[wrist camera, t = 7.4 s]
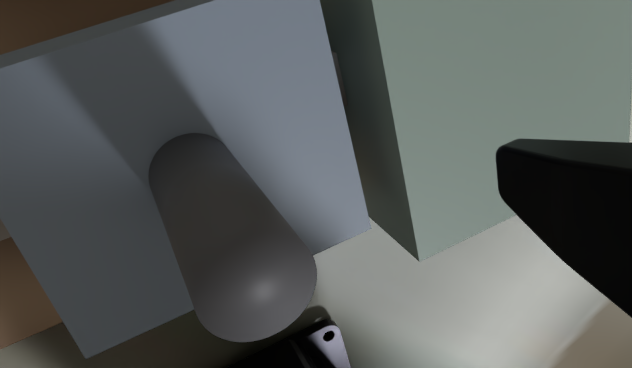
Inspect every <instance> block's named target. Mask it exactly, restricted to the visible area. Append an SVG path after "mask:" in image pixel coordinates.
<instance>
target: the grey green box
mask: <svg viewBox="0 0 632 368" xmlns="http://www.w3.org/2000/svg"><path fill="white" fill-rule="evenodd" d="M320 4H321V8H322V13H323V17H324V22H325V26H326V31H327V35H328V39H329V44H330V48H331V51H332V52H335V53H337V58H338V62H339V67H340V71H341V76H342V80H343V85H344V89H345V94H346V98H347V103H348V105H347V106H344V110H345V115H346V119H347V123H348V128H349V132H350V137H351V141H352V146H353V150H354V154H355V159H356V163H357V168H358V172H359V176H360V181H361V185H362V190H363V194H364V199H365V203H366V207H367V212H368V216H369V217H370V218H371V219H372V220H373V221H374V222H375V223H377V224H378V225H379V226H380V227H381V228H382V229H383V230H384V231H386V232H387V233H388V234H389V235H390V236H391V237H392V238H393V239H395V240H396V241H397V242H398V243H399V244H400V245H401V246H402V247H403V248H405V249H406V250H407V251H408V252H409V253H410V254H411V255H412V256H414V257H415V258H416V259H417V260H418V261H419V262H420V261H422V260H424V259H426V258H429V257H431V256H433V255H435V254H437V253H439V252H441V251H443V250H445V249H447V248H449V247H451V246H453V245H455V244H457V243H459V242H461V241H464V240H466V239H468V238H470V237H472V236H474V235H476V234H478V233H480V232H482V231H484V230H486V229H488V228H490V227H492V226H494V225H496V224H498V223H501V222H503V221H505V220H507V219H509V218H511V217H513V216H515V215H516V214H515V213H514V212H513V211H512V210H511V209H510V208H509V206H508V205H507V204H506V203H505V202H504V201H503V199H502V198H501V196H500V194H499V190H498V182H497V170H496V151H497V149H498V148H499V147H500V146H502V145H504V144H506V143H509V142H511V141H513V140H515V139H521V138H523V139H549V140H576V141H602V142H629V136H630V111H631V86H632V0H320Z"/></svg>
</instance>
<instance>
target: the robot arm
mask: <svg viewBox="0 0 632 368" xmlns="http://www.w3.org/2000/svg"><path fill="white" fill-rule="evenodd" d="M496 170H497V182H498V190H499V194H500V196H501V198H502V199H503V201H504V202H505V203H506V204H507V205H508V206H509V208H510V209H511V210H512V211H513V212H514V213H515V214H516V215H517V216H518V217H519V218H520V219H521V220H522V221H523V222H524V223H525V224H526V225H527V226H528V227H529V228H530V229H531V230H532V231H533V232H534V233H535V234H536V235H537V236H538V237H539V238H540V239H541V240H542V241H543V242H544V243H545V244H546V245H547V246H548V247H549V248H550V249H551V250H552V251H553V252H554V253H555V254H556V255H557V256H558V257H559V258H560V259H562V260H563V261H564V262H565V263H566V264H567V265H568V266H570V267H571V268H572V269H573V270H574V271H575V272H577V273H578V274H579V275H580V276H582V277H583V278H584V279H585V280H586V281H588V282H589V283H590V284H591V285H592V286H594V287H595V288H596V289H597V290H599V291H600V292H601V293H602V294H603V295H605V296H606V297H607V298H608V299H610V300H611V301H612V302H613V303H615V304H616V305H617V306H618V307H619V308H621V309H622V310H623V311H624V312H625V313H627V314H628V315H629V316H630V317H631V318H632V143H629V142H602V141H576V140H549V139H523V138H521V139H515V140H513V141H511V142H509V143H506V144H504V145H502V146H500V147H499V148H498V149H497V151H496ZM327 331H330V332H329V333H328V334H327V335H324V334H325V333H326V332H327ZM323 335H324V336H323ZM227 368H351V366H350V363H349V359H348V356H347V353H346V349H345V346H344V342H343V339H342V335H341V332H340V330H339V328H338V326H337V325H336V324H335V322H334V321H332V320H323V321H321V322H319V323H317V324H315V325H313V326H311V327H309V328H307V329H304V330H302V331H300V332H298V333H296V334H294V335H292V336H290V337H288V338H286V339H284V340H282V341H280V342H278V343H276V344H274V345H272V346H270V347H268V348H266V349H264V350H262V351H260V352H258V353H256V354H254V355H252V356H250V357H248V358H246V359H243V360H241V361H239V362H237V363H235V364H233V365H231V366H229V367H227Z"/></svg>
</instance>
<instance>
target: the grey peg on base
mask: <svg viewBox="0 0 632 368" xmlns="http://www.w3.org/2000/svg"><path fill="white" fill-rule="evenodd" d="M0 219H1V220H2V222H3V224H4V225H5V227H6V229H7V230H8V232H9V234H10V235H11V237H12V239H13V240H14V242H15V244H16V245H17V247H18V248H19V250H20V252H21V253H22V255H23V257H24V258H25V260H26V262H27V263H28V265H29V267H30V268H31V270H32V271H33V273H34V275H35V276H36V278H37V280H38V281H39V283H40V285H41V286H42V288H43V290H44V291H45V293H46V295H47V296H48V298H49V299H50V301H51V303H52V304H53V306H54V308H55V309H56V311H57V313H58V314H59V316H60V318H61V319H62V321H63V323H64V324H65V326H66V327H67V329H68V331H69V332H70V334H71V336H72V337H73V339H74V341H75V342H76V344H77V346H78V347H79V349H80V350H81V352H82V354H83V355H84V357H85V359H87V358H90V357H92V356H94V355H96V354H98V353H101V352H103V351H105V350H107V349H109V348H112V347H114V346H116V345H118V344H120V343H122V342H125V341H127V340H129V339H131V338H133V337H136V336H138V335H140V334H142V333H144V332H146V331H149V330H151V329H153V328H155V327H157V326H160V325H162V324H164V323H166V322H168V321H171V320H173V319H175V318H177V317H179V316H181V315H184V314H186V313H188V312H190V311H192V310H195V312H196V315H197V317H198V319H199V321H200V322H201V324H202V325H203V326H204V327H205V328H206V329H207V330H208V331H209V332H210V333H212V334H213V335H215V336H217V337H219V338H221V339H224V340H228V341H233V342H252V341H257V340H261V339H264V338H267V337H270V336H272V335H274V334H276V333H278V332H280V331H282V330H283V329H285V328H286V327H288V326H289V325H290V324H291V323H293V322H294V321H295V320H296V319H297V318H298V317H299V316H300V315H301V313H302V312H303V311H304V310H305V308H306V307H307V305H308V303H309V302H310V300H311V298H312V295H313V293H314V290H315V286H316V280H317V269H316V264H315V260H314V257H313V255H315V254H317V253H319V252H321V251H323V250H326V249H328V248H330V247H332V246H334V245H337V244H339V243H341V242H343V241H345V240H347V239H350V238H352V237H354V236H356V235H358V234H361V233H363V232H365V231H367V230H369V229H371V225H370V221H369V216H368V212H367V207H366V203H365V199H364V194H363V190H362V185H361V181H360V176H359V172H358V168H357V163H356V159H355V154H354V150H353V146H352V141H351V137H350V132H349V128H348V123H347V119H346V115H345V110H344V106H343V101H342V97H341V92H340V88H339V84H338V79H337V75H336V70H335V66H334V62H333V57H332V53H331V48H330V44H329V39H328V35H327V31H326V26H325V22H324V17H323V13H322V8H321V4H320V0H174V1H171V2H168V3H165V4H162V5H158V6H155V7H152V8H149V9H146V10H142V11H139V12H136V13H133V14H130V15H126V16H123V17H120V18H117V19H114V20H110V21H107V22H104V23H101V24H98V25H94V26H91V27H88V28H85V29H82V30H78V31H75V32H72V33H69V34H66V35H62V36H59V37H56V38H53V39H50V40H46V41H43V42H40V43H37V44H34V45H30V46H27V47H24V48H21V49H18V50H14V51H11V52H8V53H5V54H2V55H0Z"/></svg>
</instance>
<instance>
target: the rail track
mask: <svg viewBox="0 0 632 368" xmlns="http://www.w3.org/2000/svg"><path fill="white" fill-rule="evenodd" d="M171 1H174V0H0V55H2V54H5V53H8V52H11V51H14V50H18V49H21V48H24V47H27V46H30V45H34V44H37V43H40V42H43V41H46V40H50V39H53V38H56V37H59V36H62V35H66V34H69V33H72V32H75V31H78V30H82V29H85V28H88V27H91V26H94V25H98V24H101V23H104V22H107V21H110V20H114V19H117V18H120V17H123V16H126V15H130V14H133V13H136V12H139V11H142V10H146V9H149V8H152V7H155V6H158V5H162V4H165V3H168V2H171ZM331 53H332V57H333V62H334V66H335V70H336V75H337V79H338V84H339V88H340V92H341V97H342V101H343V106H347V105H348V103H347V98H346V94H345V89H344V85H343V80H342V76H341V71H340V67H339V62H338V58H337V53H335V52H332V51H331ZM62 322H63V321H62V319H61V318H60V316H59V314H58V313H57V311H56V309H55V308H54V306H53V304H52V303H51V301H50V299H49V298H48V296H47V295H46V293H45V291H44V290H43V288H42V286H41V285H40V283H39V281H38V280H37V278H36V276H35V275H34V273H33V271H32V270H31V268H30V267H29V265H28V263H27V262H26V260H25V258H24V257H23V255H22V253H21V252H20V250H19V248H18V247H17V245H16V244H15V242H14V240H13V239H12V237H11V235H10V234H9V232H8V230H7V229H6V227H5V225H4V224H3V222H2V220H1V219H0V349H2V348H4V347H7V346H9V345H11V344H14V343H16V342H18V341H20V340H23V339H25V338H27V337H30V336H32V335H34V334H37V333H39V332H41V331H43V330H46V329H48V328H50V327H53V326H55V325H57V324H59V323H62Z"/></svg>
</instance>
